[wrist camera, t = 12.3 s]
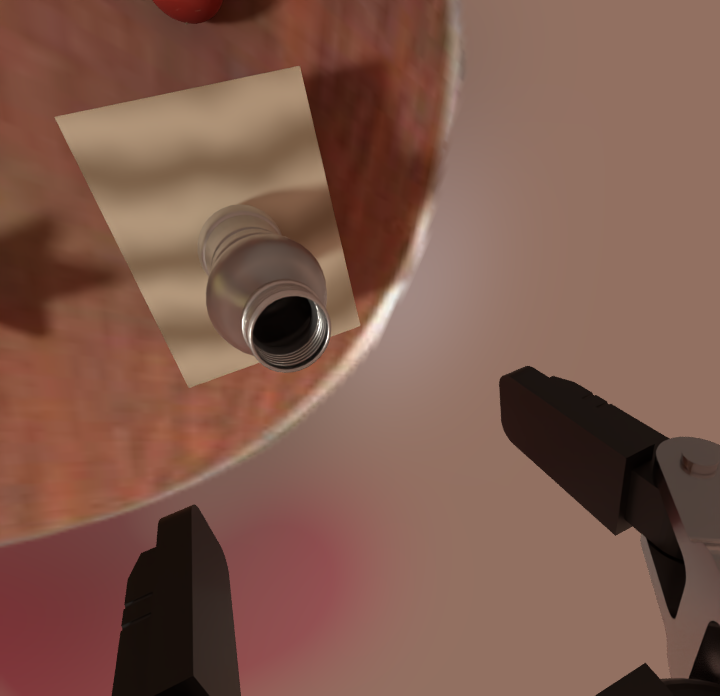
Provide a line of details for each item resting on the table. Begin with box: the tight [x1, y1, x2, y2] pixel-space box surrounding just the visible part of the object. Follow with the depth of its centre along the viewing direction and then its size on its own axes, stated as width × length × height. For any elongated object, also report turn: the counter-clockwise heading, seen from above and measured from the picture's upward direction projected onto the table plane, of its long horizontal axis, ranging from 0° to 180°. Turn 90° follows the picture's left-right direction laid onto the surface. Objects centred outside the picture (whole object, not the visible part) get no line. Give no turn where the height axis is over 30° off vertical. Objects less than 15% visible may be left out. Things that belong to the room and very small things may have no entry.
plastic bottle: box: [198, 204, 331, 373], centre depth 26 cm, size 6×7×20 cm
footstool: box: [55, 66, 360, 388], centre depth 38 cm, size 22×17×8 cm
